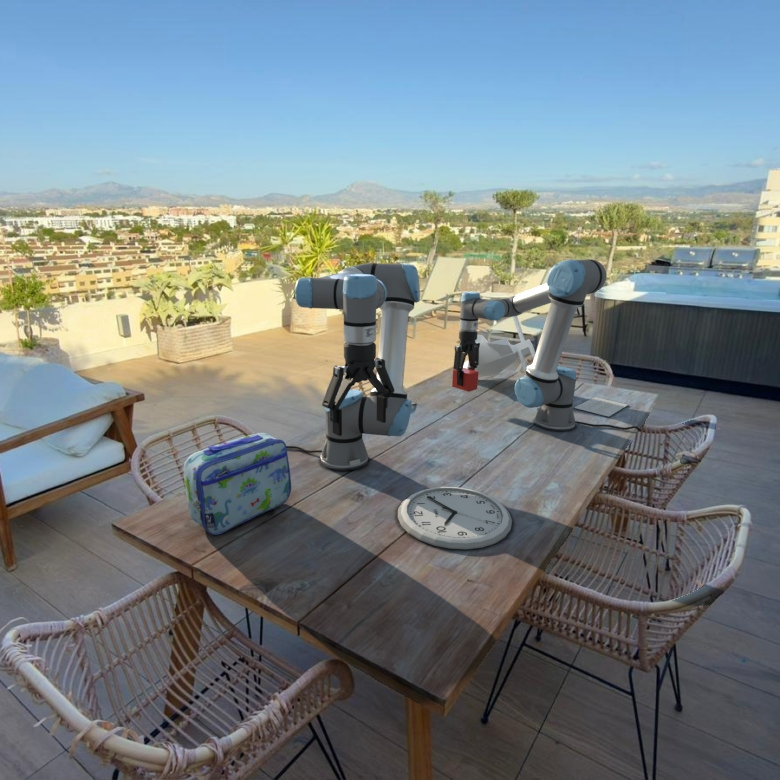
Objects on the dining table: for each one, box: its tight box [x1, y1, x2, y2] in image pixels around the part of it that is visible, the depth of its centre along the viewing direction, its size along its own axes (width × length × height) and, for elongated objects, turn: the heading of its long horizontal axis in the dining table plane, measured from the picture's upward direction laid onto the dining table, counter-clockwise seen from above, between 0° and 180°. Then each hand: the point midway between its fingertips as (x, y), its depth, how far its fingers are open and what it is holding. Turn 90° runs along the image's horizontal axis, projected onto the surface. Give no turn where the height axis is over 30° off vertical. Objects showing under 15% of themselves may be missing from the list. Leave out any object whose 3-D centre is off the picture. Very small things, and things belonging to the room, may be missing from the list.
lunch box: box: [183, 432, 292, 536], centre depth 133 cm, size 26×11×21 cm, turn 134°
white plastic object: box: [463, 316, 536, 378], centre depth 256 cm, size 37×45×31 cm
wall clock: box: [397, 486, 513, 550], centre depth 138 cm, size 30×2×30 cm
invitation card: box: [573, 396, 629, 418], centre depth 226 cm, size 21×1×15 cm
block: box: [451, 368, 479, 392], centre depth 221 cm, size 9×6×8 cm, turn 41°
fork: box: [411, 396, 419, 405], centre depth 222 cm, size 3×16×2 cm, turn 160°
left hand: (359, 427), depth 128 cm, fingers open, 13 cm apart
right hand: (465, 383), depth 222 cm, fingers closed on block, 6 cm apart
